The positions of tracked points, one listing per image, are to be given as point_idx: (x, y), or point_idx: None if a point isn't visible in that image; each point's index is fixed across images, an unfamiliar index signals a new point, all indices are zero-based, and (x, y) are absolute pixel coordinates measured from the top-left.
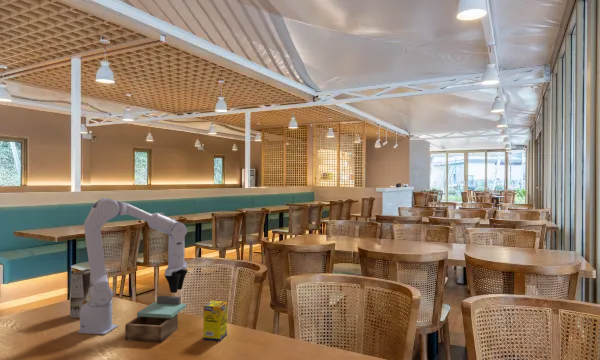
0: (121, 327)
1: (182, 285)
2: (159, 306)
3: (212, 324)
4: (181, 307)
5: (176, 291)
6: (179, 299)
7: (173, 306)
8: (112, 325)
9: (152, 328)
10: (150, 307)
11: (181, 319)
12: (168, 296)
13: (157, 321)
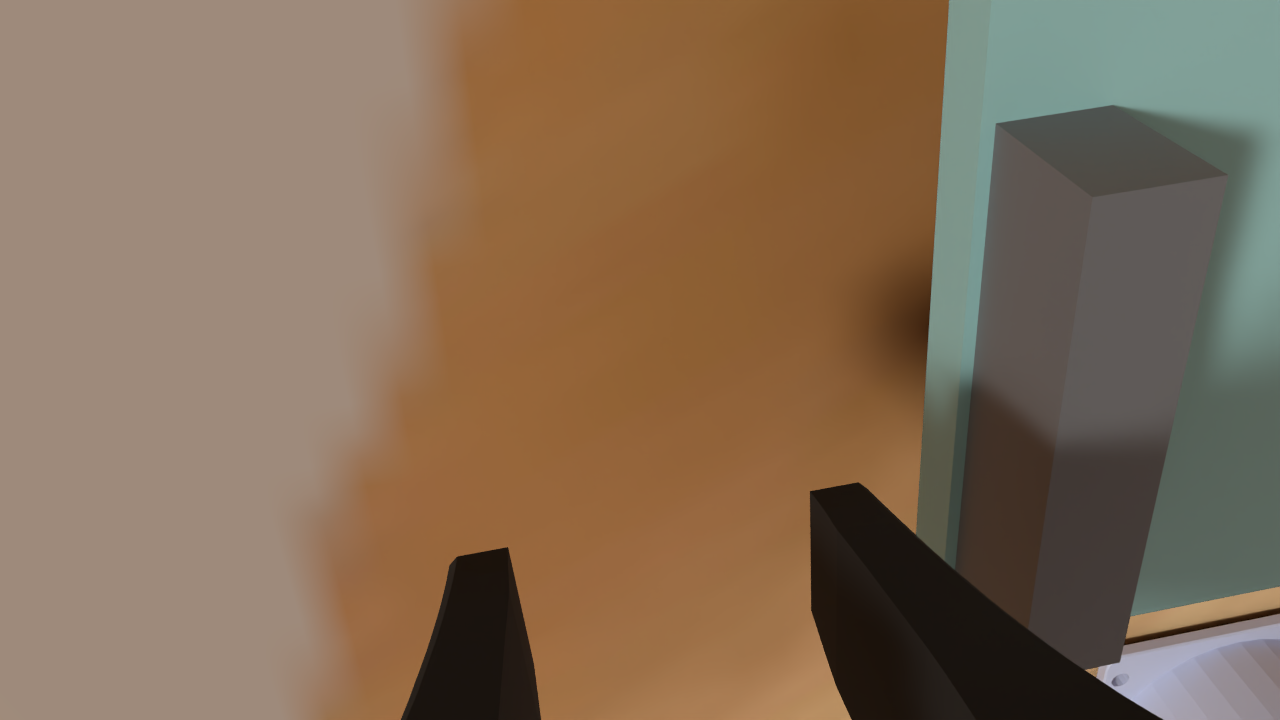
0: None
1: (450, 628)
2: (1220, 424)
3: None
4: None
5: (869, 498)
6: (1146, 160)
7: (1239, 155)
8: (1132, 689)
9: None
10: (1274, 522)
11: (705, 58)
12: (1068, 498)
13: None
